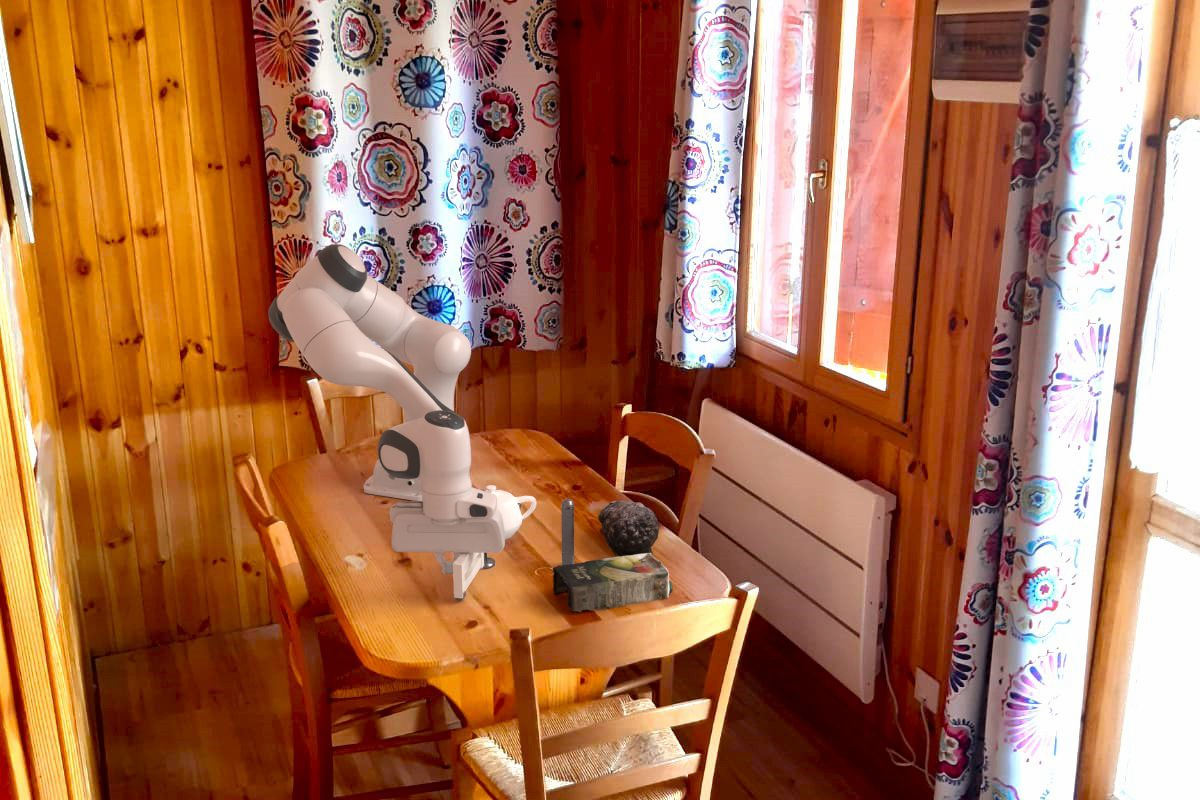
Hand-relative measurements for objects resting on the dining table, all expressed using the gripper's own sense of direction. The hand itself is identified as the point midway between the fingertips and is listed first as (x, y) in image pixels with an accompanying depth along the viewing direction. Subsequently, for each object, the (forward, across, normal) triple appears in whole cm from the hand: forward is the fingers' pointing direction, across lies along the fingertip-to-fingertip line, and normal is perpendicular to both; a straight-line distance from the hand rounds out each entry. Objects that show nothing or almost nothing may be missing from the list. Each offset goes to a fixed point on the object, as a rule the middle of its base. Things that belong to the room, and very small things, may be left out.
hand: (449, 572), depth 198 cm
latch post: (+3, +21, +10) cm, 24 cm away
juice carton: (+4, +30, -3) cm, 30 cm away
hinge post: (+3, +5, +10) cm, 12 cm away
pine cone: (+3, +32, +20) cm, 38 cm away
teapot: (+3, +5, +26) cm, 26 cm away
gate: (+3, +3, +1) cm, 5 cm away
